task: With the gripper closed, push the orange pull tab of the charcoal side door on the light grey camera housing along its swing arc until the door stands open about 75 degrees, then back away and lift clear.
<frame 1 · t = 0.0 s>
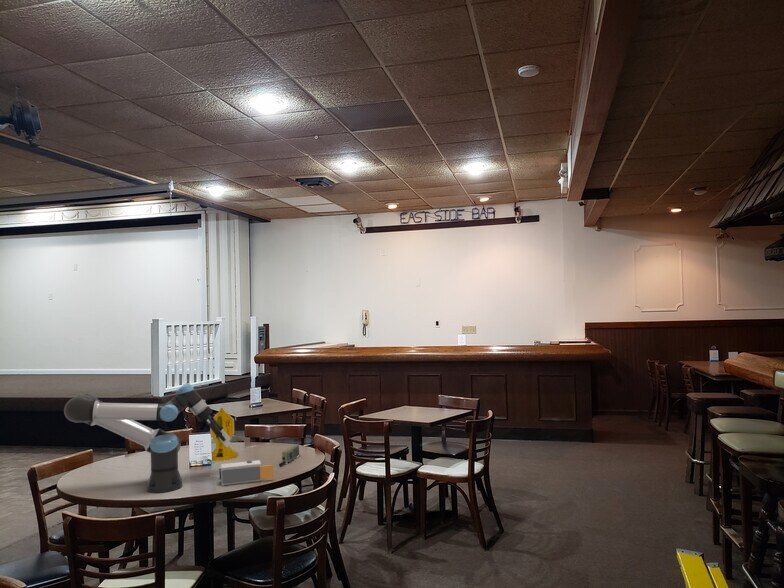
hand: (228, 443, 287), 15 cm above the table, tool tilted 35°, fingers open, 13 cm apart
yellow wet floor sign: (221, 458, 324), on the table
camera housing: (241, 481, 272), on the table
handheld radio: (289, 461, 309), on the table
side door: (248, 474, 268), point 4 cm above the table, hinge at 0.0°
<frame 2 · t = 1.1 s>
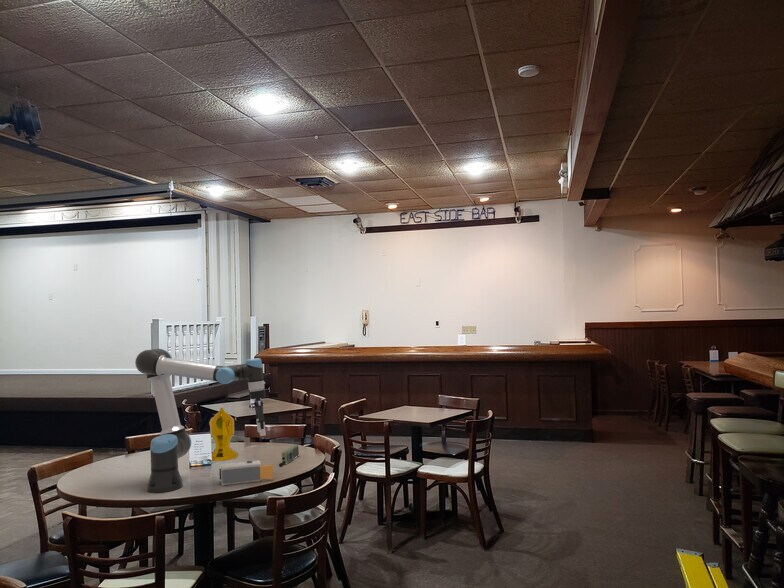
hand: (261, 433, 279), 21 cm above the table, tool pointing down, fingers open, 13 cm apart
nothing on the table moved.
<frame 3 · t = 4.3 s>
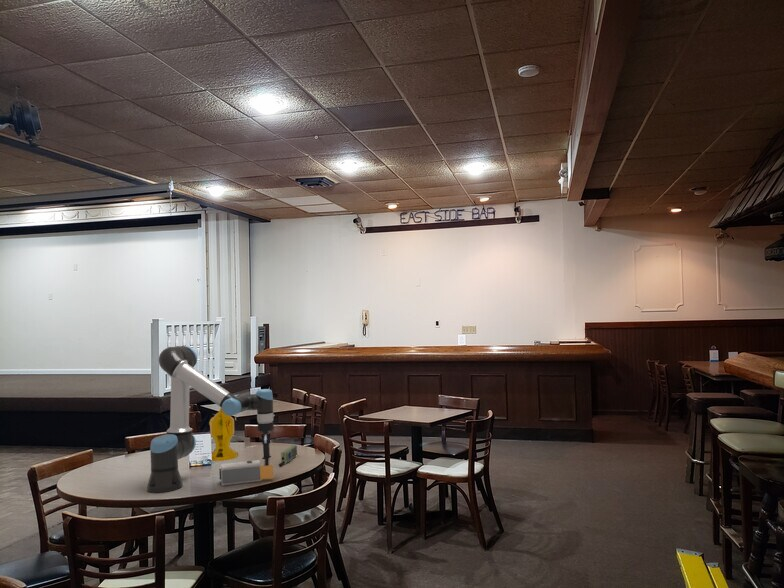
hand: (267, 472, 272), 3 cm above the table, tool pointing down, fingers closed
side door: (248, 474, 268), point 4 cm above the table, hinge at 1.1°, touching gripper
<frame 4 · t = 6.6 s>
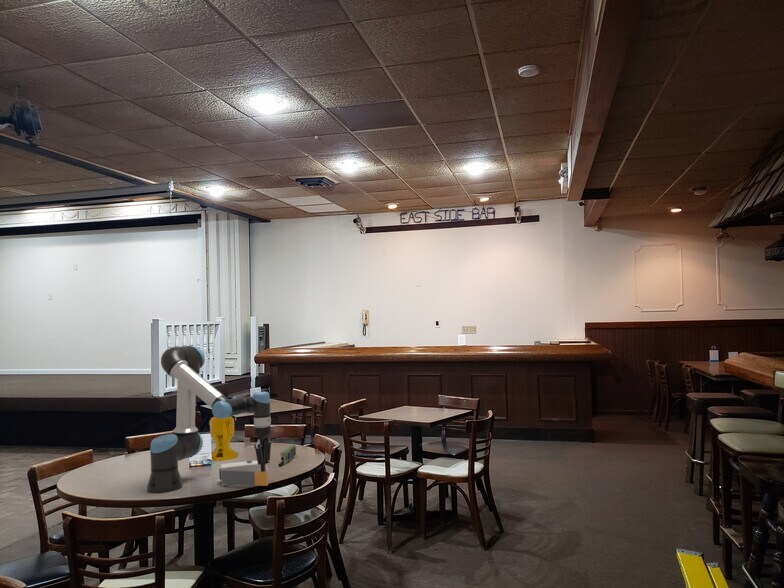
hand: (264, 478, 261), 3 cm above the table, tool pointing down, fingers closed
side door: (244, 477, 261), point 4 cm above the table, hinge at 32.9°, touching gripper
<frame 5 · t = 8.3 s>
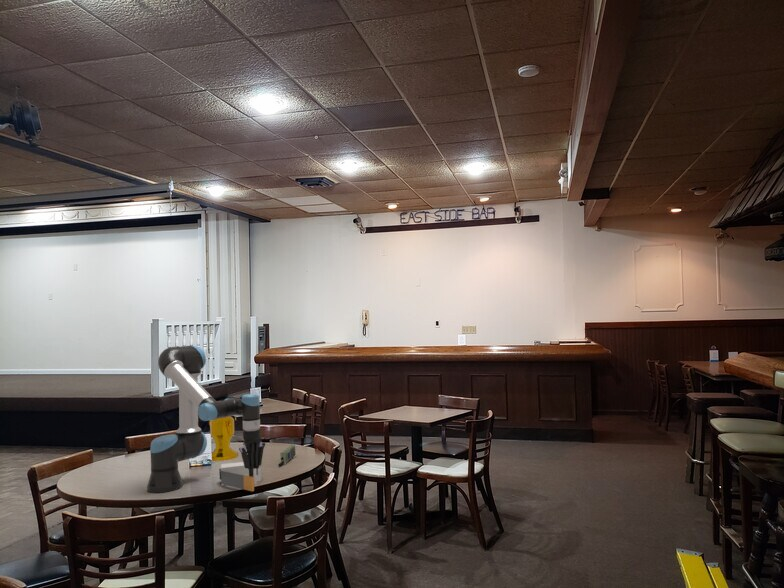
hand: (253, 483, 253), 3 cm above the table, tool pointing down, fingers closed
side door: (237, 480, 257), point 4 cm above the table, hinge at 55.9°, touching gripper
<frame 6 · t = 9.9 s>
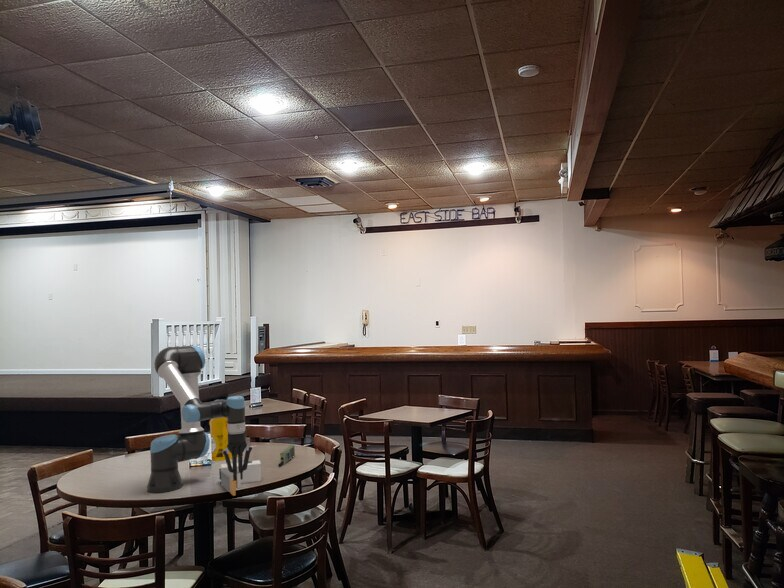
hand: (238, 487, 248), 3 cm above the table, tool pointing down, fingers closed
side door: (227, 482, 254), point 4 cm above the table, hinge at 77.3°, touching gripper
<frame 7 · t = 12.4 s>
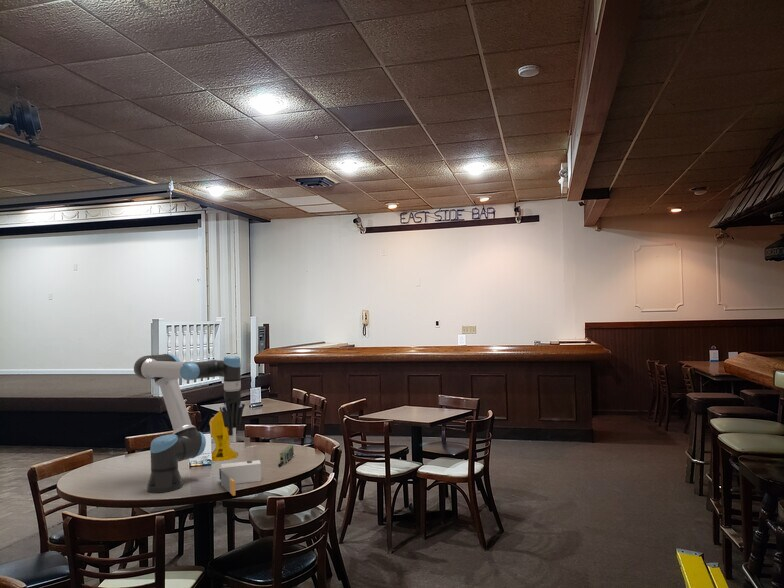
hand: (232, 442, 262), 20 cm above the table, tool pointing down, fingers closed
side door: (227, 482, 254), point 4 cm above the table, hinge at 77.5°
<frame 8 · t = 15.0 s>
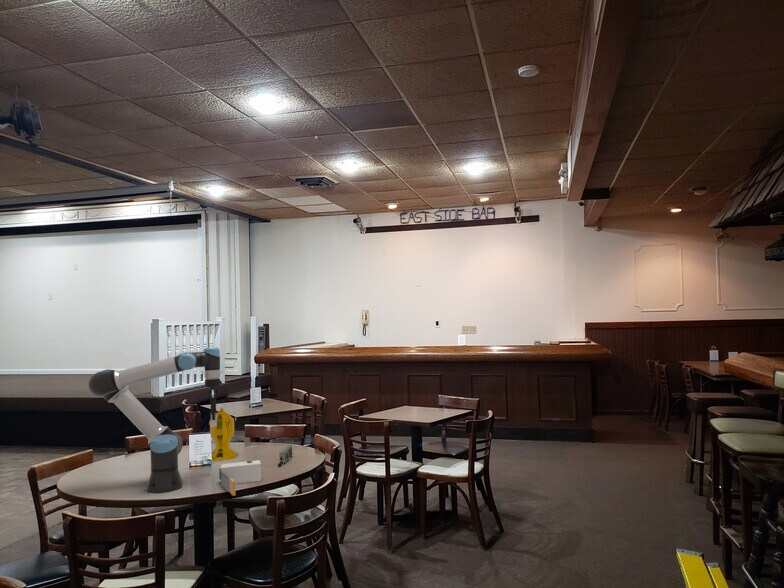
hand: (213, 426, 284), 24 cm above the table, tool pointing down, fingers closed
at the end: side door at +78° (first picture: +0°); the gripper is holding nothing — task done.
